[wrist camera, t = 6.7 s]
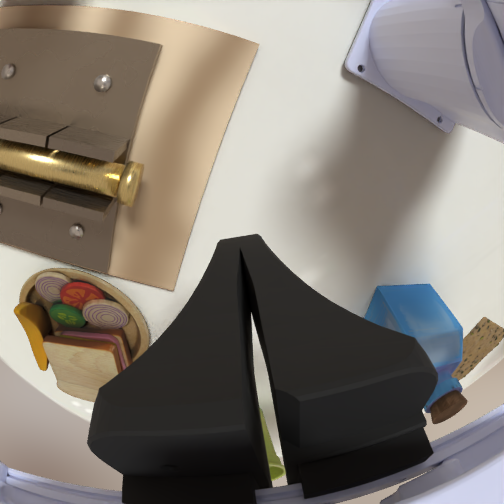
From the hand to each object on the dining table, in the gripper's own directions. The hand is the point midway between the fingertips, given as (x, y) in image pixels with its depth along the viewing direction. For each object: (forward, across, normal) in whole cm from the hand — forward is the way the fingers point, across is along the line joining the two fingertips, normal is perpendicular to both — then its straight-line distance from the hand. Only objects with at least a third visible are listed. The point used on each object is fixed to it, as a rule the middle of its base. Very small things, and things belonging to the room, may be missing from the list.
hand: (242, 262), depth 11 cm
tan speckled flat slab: (+10, -30, +30) cm, 44 cm away
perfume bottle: (+10, -13, +15) cm, 23 cm away
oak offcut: (+10, +9, -4) cm, 14 cm away
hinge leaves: (+9, +11, -4) cm, 15 cm away
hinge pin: (+8, +11, -4) cm, 14 cm away
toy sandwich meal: (+10, +15, +11) cm, 21 cm away
